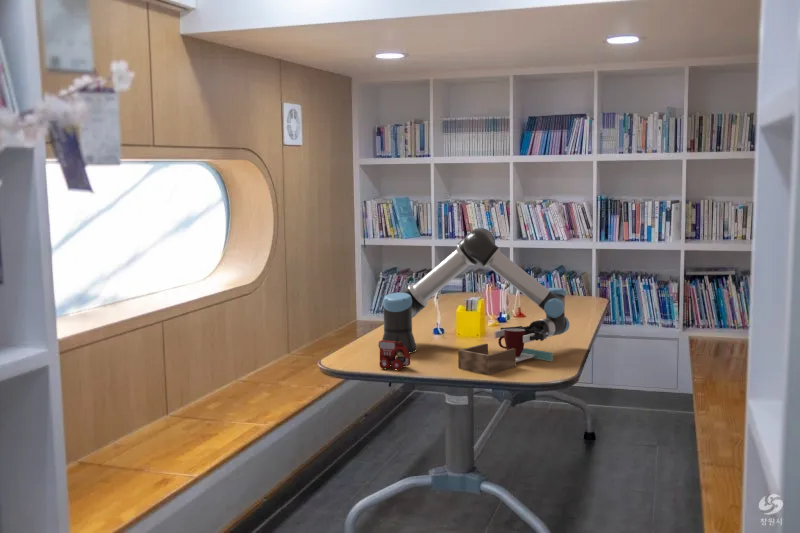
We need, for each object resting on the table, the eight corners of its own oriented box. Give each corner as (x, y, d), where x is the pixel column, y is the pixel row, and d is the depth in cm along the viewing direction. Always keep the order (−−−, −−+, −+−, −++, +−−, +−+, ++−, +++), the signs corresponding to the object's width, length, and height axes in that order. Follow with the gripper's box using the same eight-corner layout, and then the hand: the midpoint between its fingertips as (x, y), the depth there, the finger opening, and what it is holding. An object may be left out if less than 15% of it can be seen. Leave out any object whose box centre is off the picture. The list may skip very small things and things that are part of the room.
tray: (484, 359, 308) (484, 352, 308) (510, 352, 320) (510, 345, 319) (527, 367, 294) (527, 359, 294) (552, 360, 305) (552, 352, 305)
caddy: (458, 368, 298) (458, 350, 297) (485, 361, 309) (485, 343, 308) (488, 374, 287) (488, 355, 287) (515, 367, 299) (515, 348, 298)
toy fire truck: (406, 371, 295) (405, 343, 294) (375, 369, 299) (375, 341, 298) (413, 367, 301) (412, 340, 300) (383, 364, 306) (382, 338, 305)
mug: (496, 356, 306) (496, 330, 305) (500, 353, 314) (500, 327, 313) (523, 357, 303) (523, 331, 302) (526, 354, 310) (527, 328, 310)
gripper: (567, 342, 313) (536, 351, 298) (516, 334, 331) (483, 342, 316) (568, 323, 312) (536, 331, 297) (516, 316, 330) (483, 323, 315)
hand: (509, 337), depth 306 cm, fingers open, 13 cm apart
